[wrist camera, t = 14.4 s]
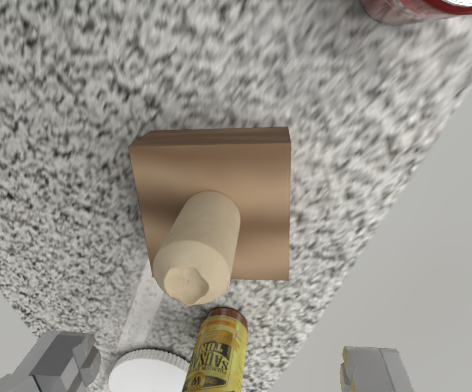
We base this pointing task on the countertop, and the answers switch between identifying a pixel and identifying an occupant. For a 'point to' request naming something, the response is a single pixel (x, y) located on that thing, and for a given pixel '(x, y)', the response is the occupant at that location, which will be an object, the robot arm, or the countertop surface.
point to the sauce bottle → (218, 353)
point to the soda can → (415, 10)
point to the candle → (199, 250)
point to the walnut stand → (220, 189)
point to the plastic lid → (148, 372)
